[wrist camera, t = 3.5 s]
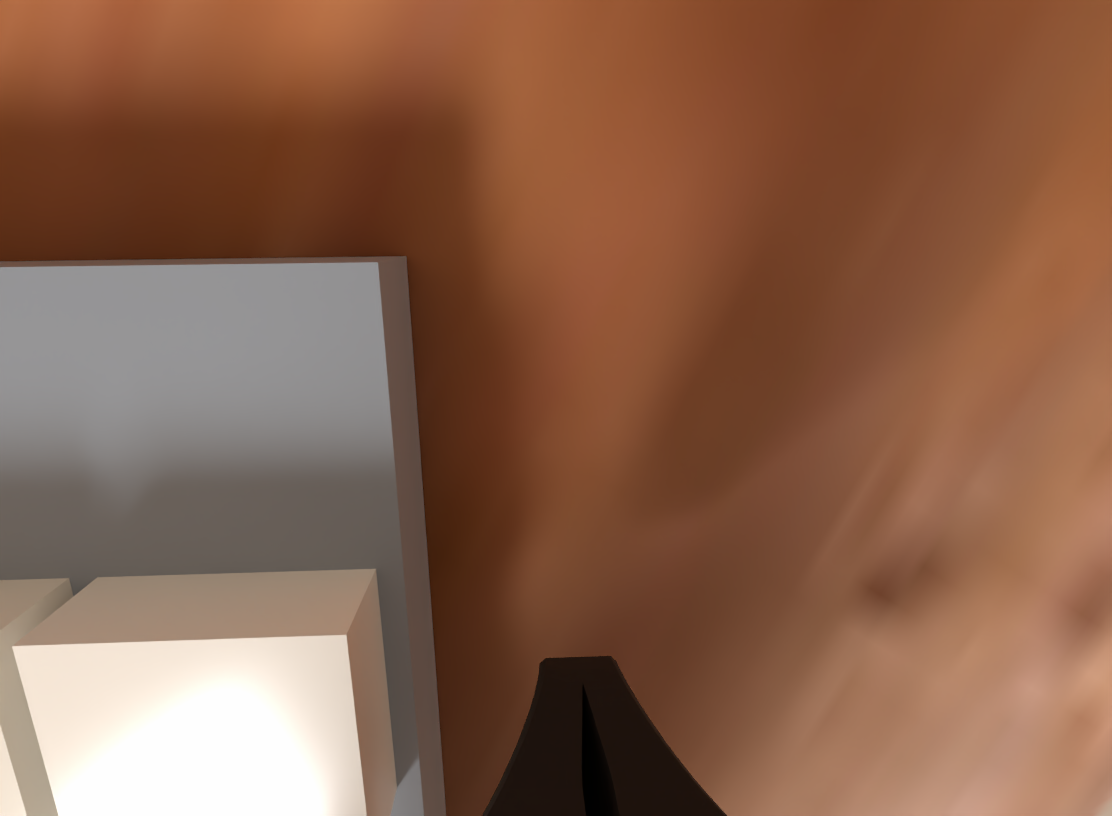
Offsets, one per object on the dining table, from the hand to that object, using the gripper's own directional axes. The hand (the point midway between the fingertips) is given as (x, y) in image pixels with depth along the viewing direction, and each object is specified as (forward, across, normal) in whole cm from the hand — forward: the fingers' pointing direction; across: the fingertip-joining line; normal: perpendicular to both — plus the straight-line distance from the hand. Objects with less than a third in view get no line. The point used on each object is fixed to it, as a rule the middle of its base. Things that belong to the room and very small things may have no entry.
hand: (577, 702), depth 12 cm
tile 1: (+1, +6, 0) cm, 6 cm away
